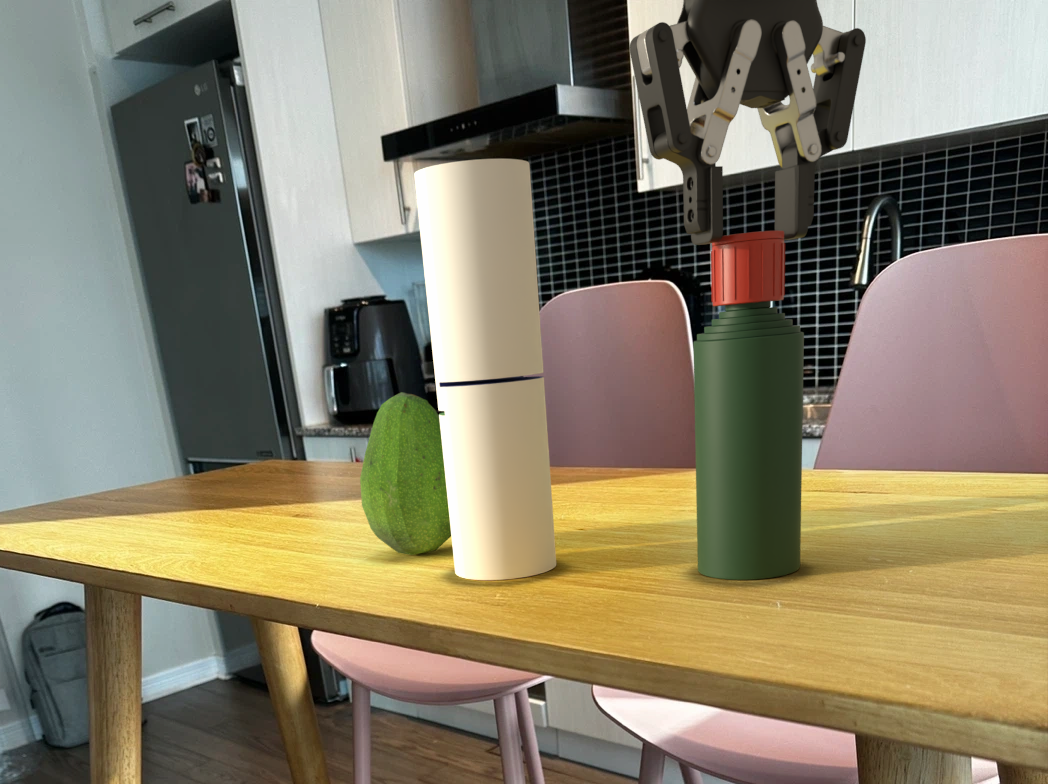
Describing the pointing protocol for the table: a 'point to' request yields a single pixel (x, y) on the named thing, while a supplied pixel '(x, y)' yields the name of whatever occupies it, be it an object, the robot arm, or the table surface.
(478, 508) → the cylindrical container
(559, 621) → the table surface
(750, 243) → the cap
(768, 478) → the bottle
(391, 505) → the avocado
